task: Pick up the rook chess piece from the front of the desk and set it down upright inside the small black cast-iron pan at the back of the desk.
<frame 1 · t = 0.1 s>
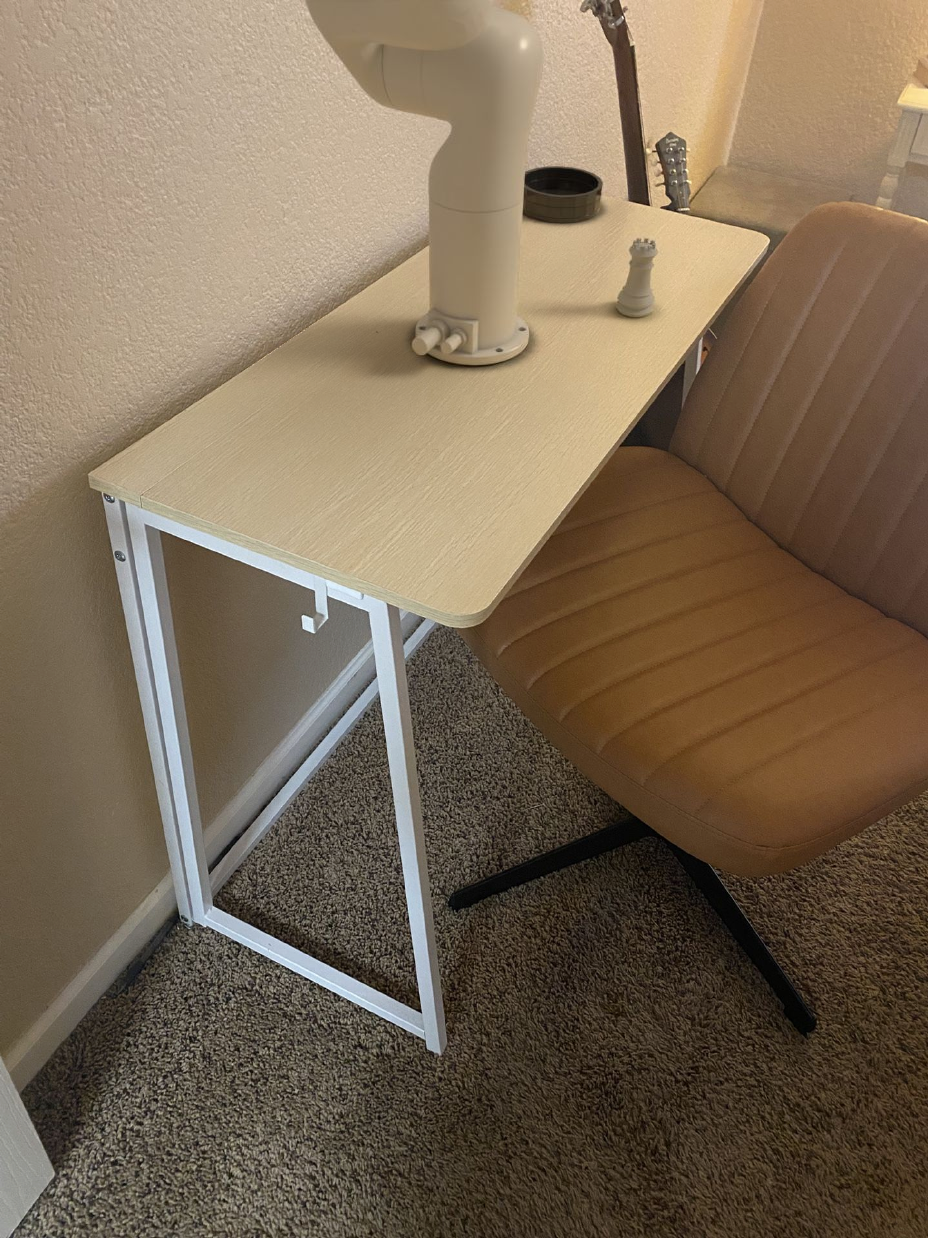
rook chess piece: (633, 311, 110), on the table
pan: (558, 206, 133), on the table
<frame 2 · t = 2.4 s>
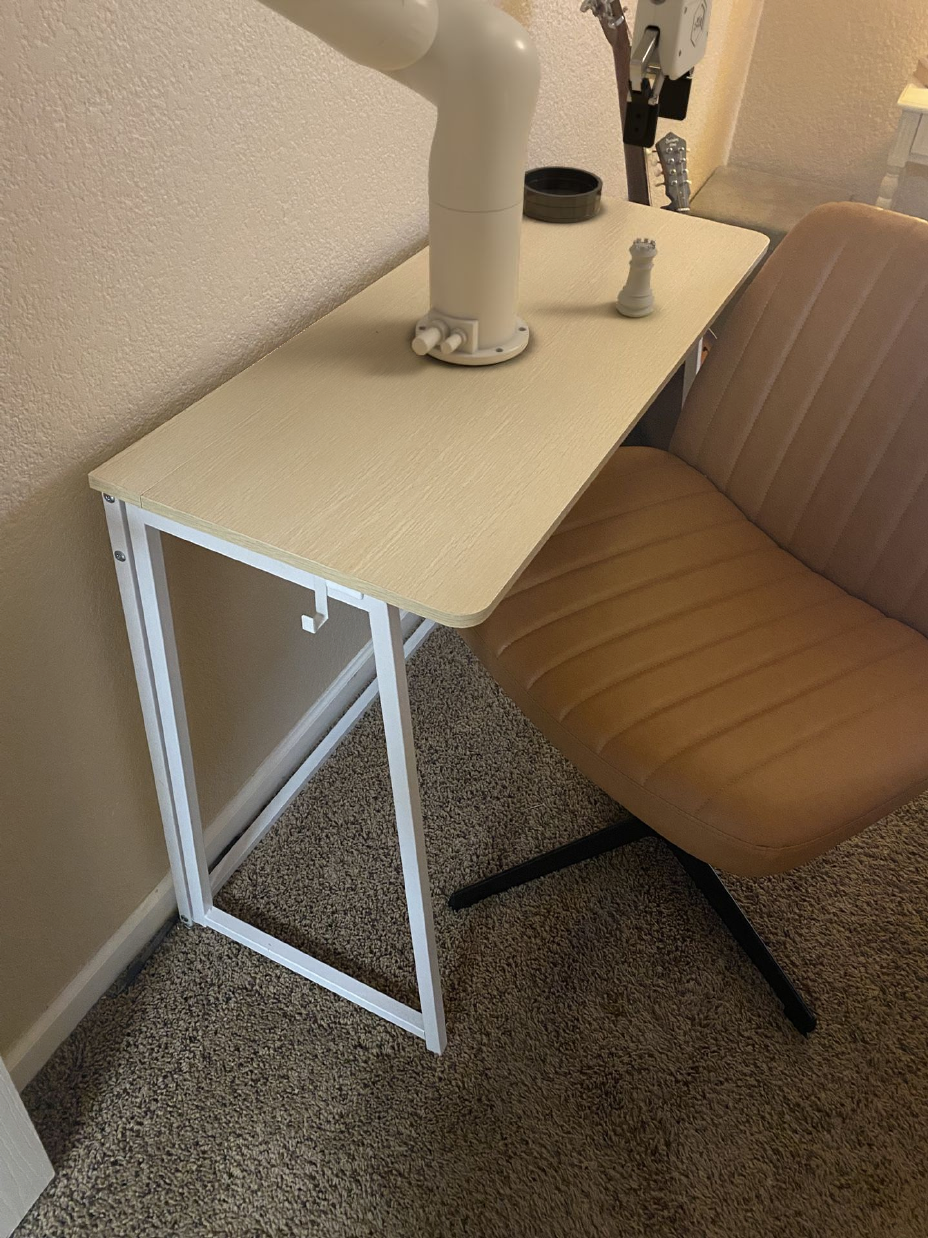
hand: (654, 131, 98), 19 cm above the table, tool pointing down, fingers open, 9 cm apart
nothing on the table moved.
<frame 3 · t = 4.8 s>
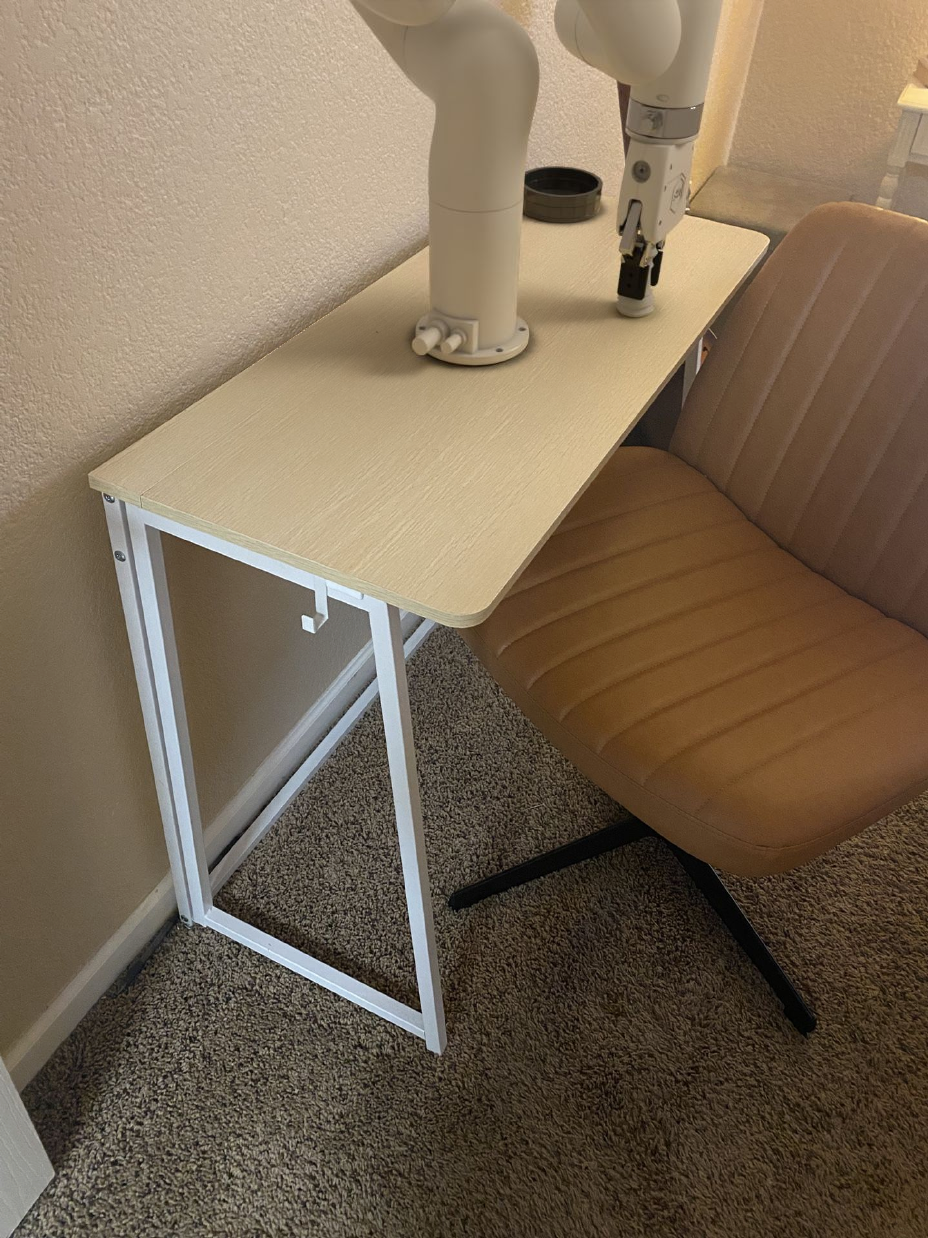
hand: (637, 288, 108), 3 cm above the table, tool pointing down, fingers closed on rook chess piece, 3 cm apart
rook chess piece: (633, 311, 110), on the table, touching gripper
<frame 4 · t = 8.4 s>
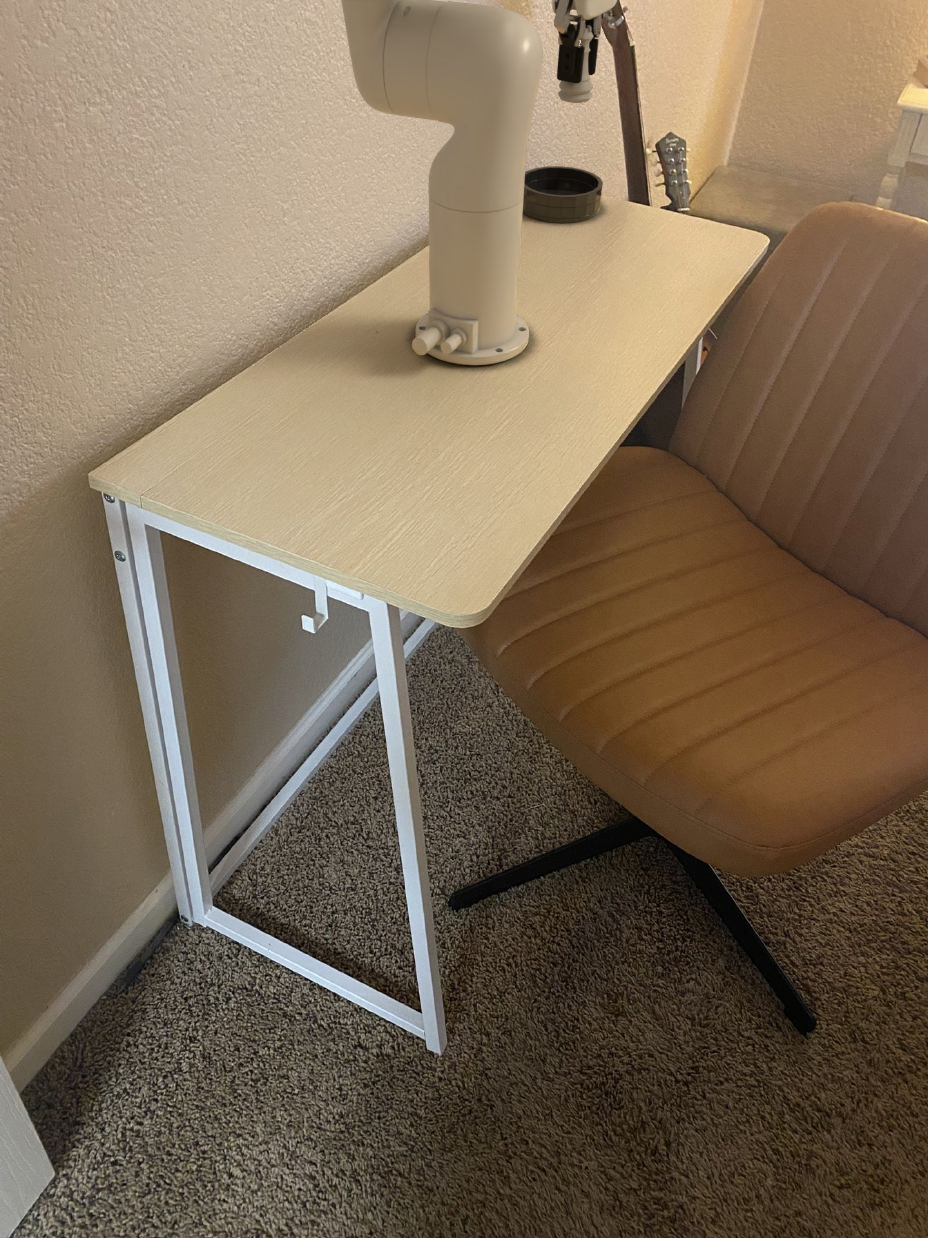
hand: (576, 75, 119), 17 cm above the table, tool pointing down, fingers closed on rook chess piece, 3 cm apart
rook chess piece: (574, 99, 121), point 14 cm above the table, touching gripper
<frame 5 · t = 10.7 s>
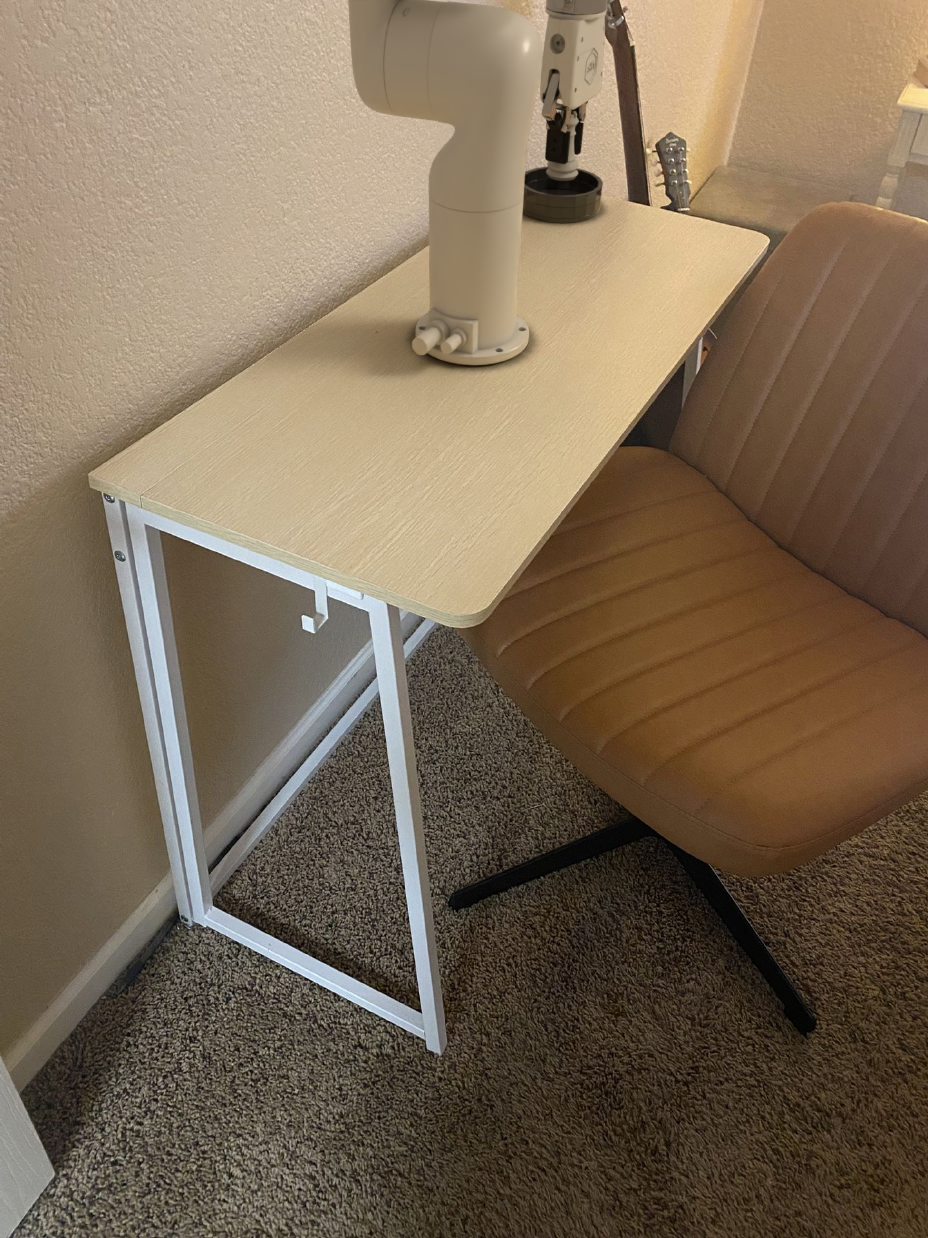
hand: (563, 155, 128), 7 cm above the table, tool pointing down, fingers closed on rook chess piece, 3 cm apart
rook chess piece: (561, 177, 130), point 4 cm above the table, touching gripper
when the fingers open (3 cm above the table, at t = 12.0 s): rook chess piece stays where it is, resting on pan.
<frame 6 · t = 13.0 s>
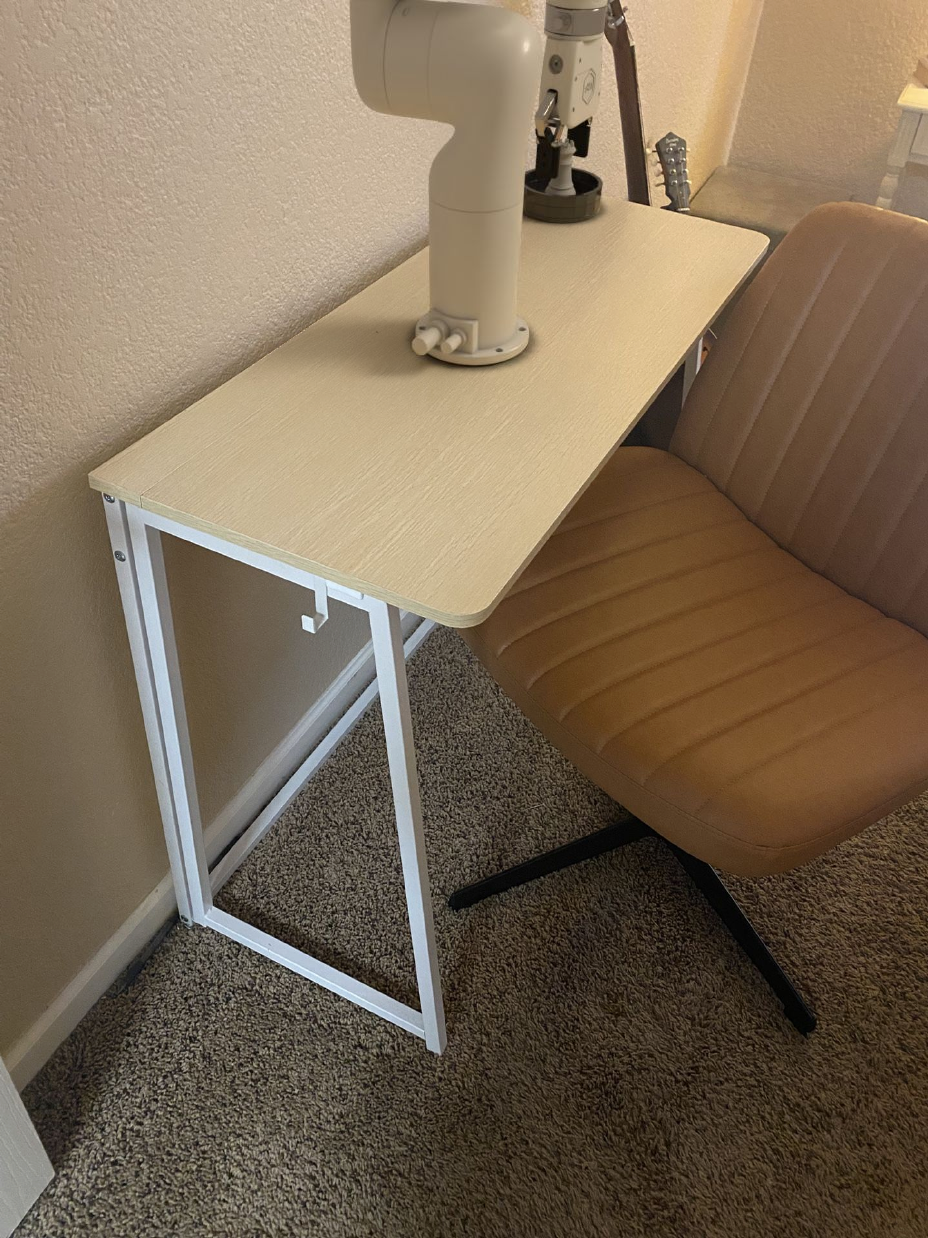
hand: (561, 165, 128), 6 cm above the table, tool pointing down, fingers open, 9 cm apart
rook chess piece: (559, 203, 132), resting on pan
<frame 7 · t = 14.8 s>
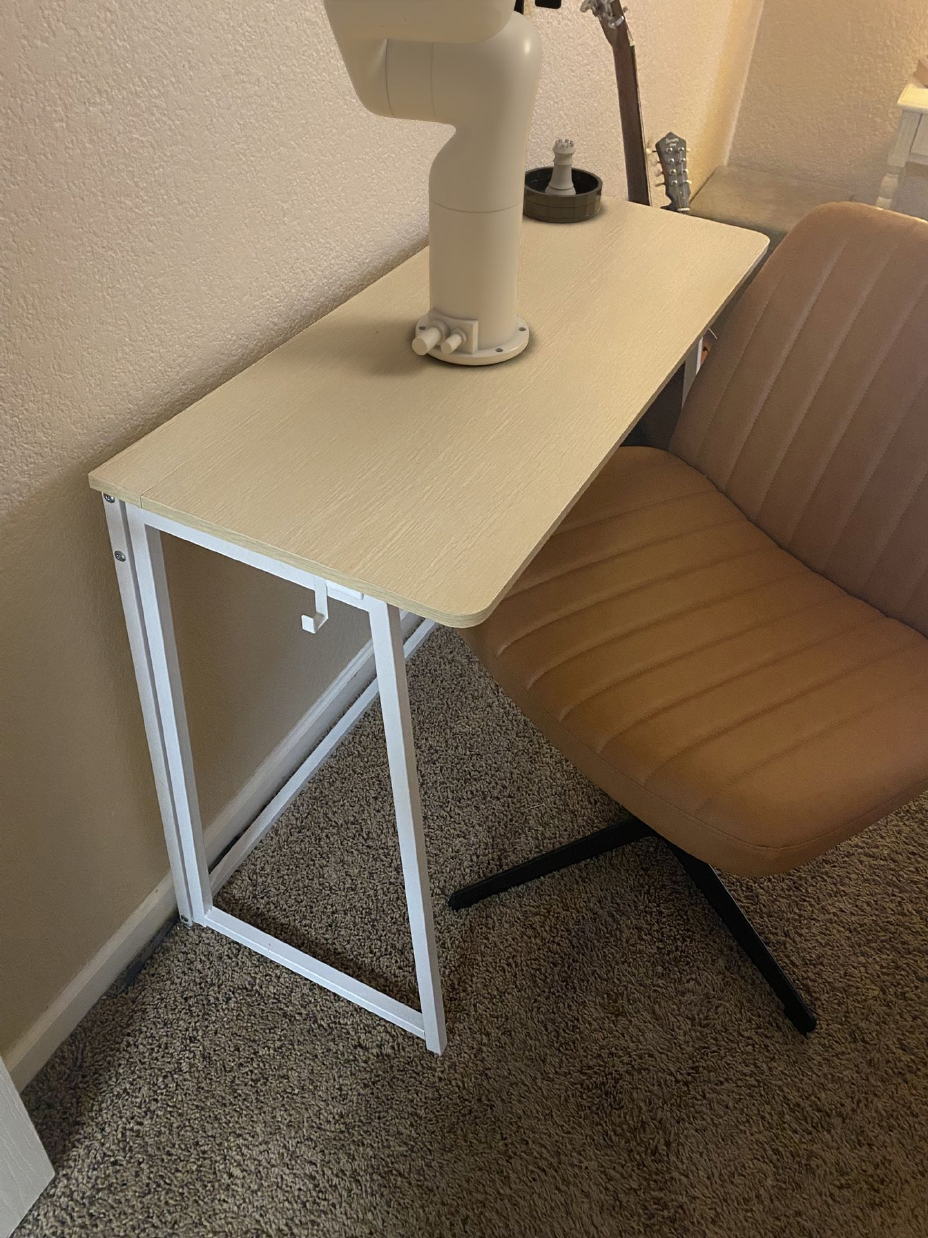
hand: (528, 14, 106), 26 cm above the table, tool pointing down, fingers open, 9 cm apart
nothing on the table moved.
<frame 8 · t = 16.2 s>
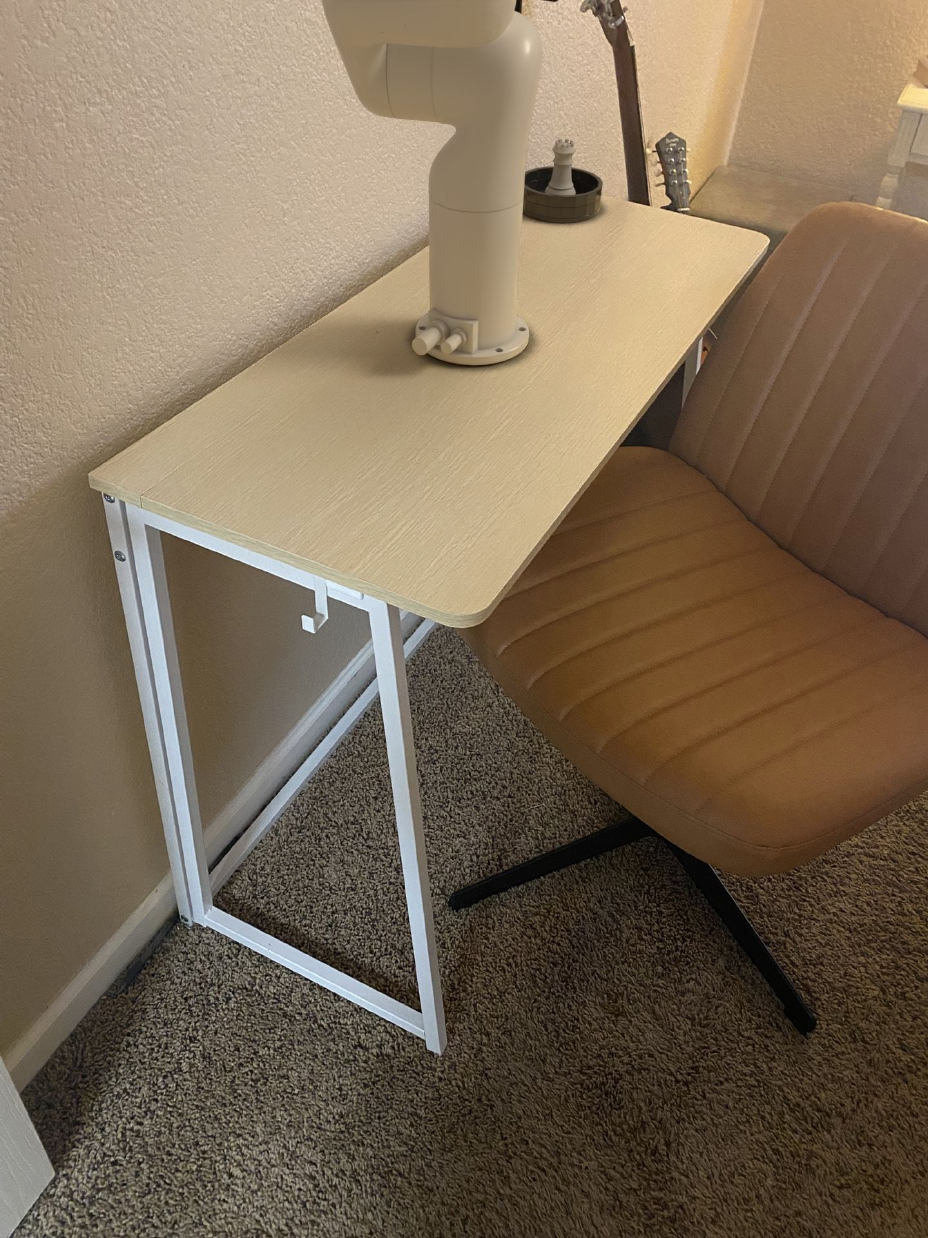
hand: (526, 7, 105), 26 cm above the table, tool pointing down, fingers open, 9 cm apart
nothing on the table moved.
at the end: rook chess piece 0.1 cm off-centre in the pan, point 0.4 cm above the pan's base; rook chess piece tilted 0° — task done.
